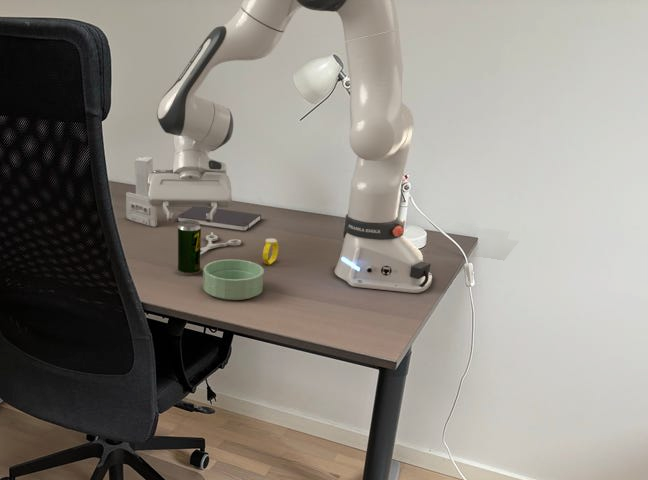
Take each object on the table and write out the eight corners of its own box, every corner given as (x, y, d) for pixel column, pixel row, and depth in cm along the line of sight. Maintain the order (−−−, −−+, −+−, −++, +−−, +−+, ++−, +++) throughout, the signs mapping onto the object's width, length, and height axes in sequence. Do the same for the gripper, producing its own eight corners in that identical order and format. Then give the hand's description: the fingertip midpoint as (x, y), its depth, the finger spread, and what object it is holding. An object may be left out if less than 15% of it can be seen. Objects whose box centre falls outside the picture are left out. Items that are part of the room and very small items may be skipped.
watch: (270, 258, 186) (271, 235, 184) (280, 260, 185) (281, 237, 182) (259, 265, 182) (260, 242, 179) (269, 267, 180) (271, 244, 178)
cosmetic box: (148, 199, 235) (147, 161, 229) (135, 198, 236) (134, 160, 230) (154, 194, 240) (153, 157, 234) (141, 193, 241) (140, 156, 235)
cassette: (158, 226, 210) (158, 199, 206) (153, 227, 209) (153, 200, 205) (129, 217, 217) (129, 191, 213) (125, 218, 216) (124, 192, 212)
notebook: (260, 219, 216) (194, 210, 224) (261, 214, 215) (194, 205, 223) (245, 231, 206) (176, 221, 214) (245, 226, 205) (176, 216, 213)
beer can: (175, 275, 175) (176, 225, 170) (179, 267, 180) (180, 219, 174) (198, 276, 174) (199, 227, 169) (201, 268, 179) (202, 220, 174)
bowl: (271, 285, 170) (272, 265, 167) (249, 306, 159) (250, 284, 157) (217, 276, 175) (218, 255, 173) (193, 295, 164) (193, 273, 162)
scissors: (245, 239, 197) (206, 259, 182) (245, 241, 198) (206, 262, 183) (211, 232, 202) (170, 251, 187) (211, 234, 203) (170, 254, 188)
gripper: (147, 162, 178) (145, 213, 174) (232, 164, 178) (232, 215, 174) (149, 176, 184) (146, 226, 180) (231, 178, 184) (231, 228, 180)
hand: (189, 221), depth 177 cm, fingers open, 8 cm apart
